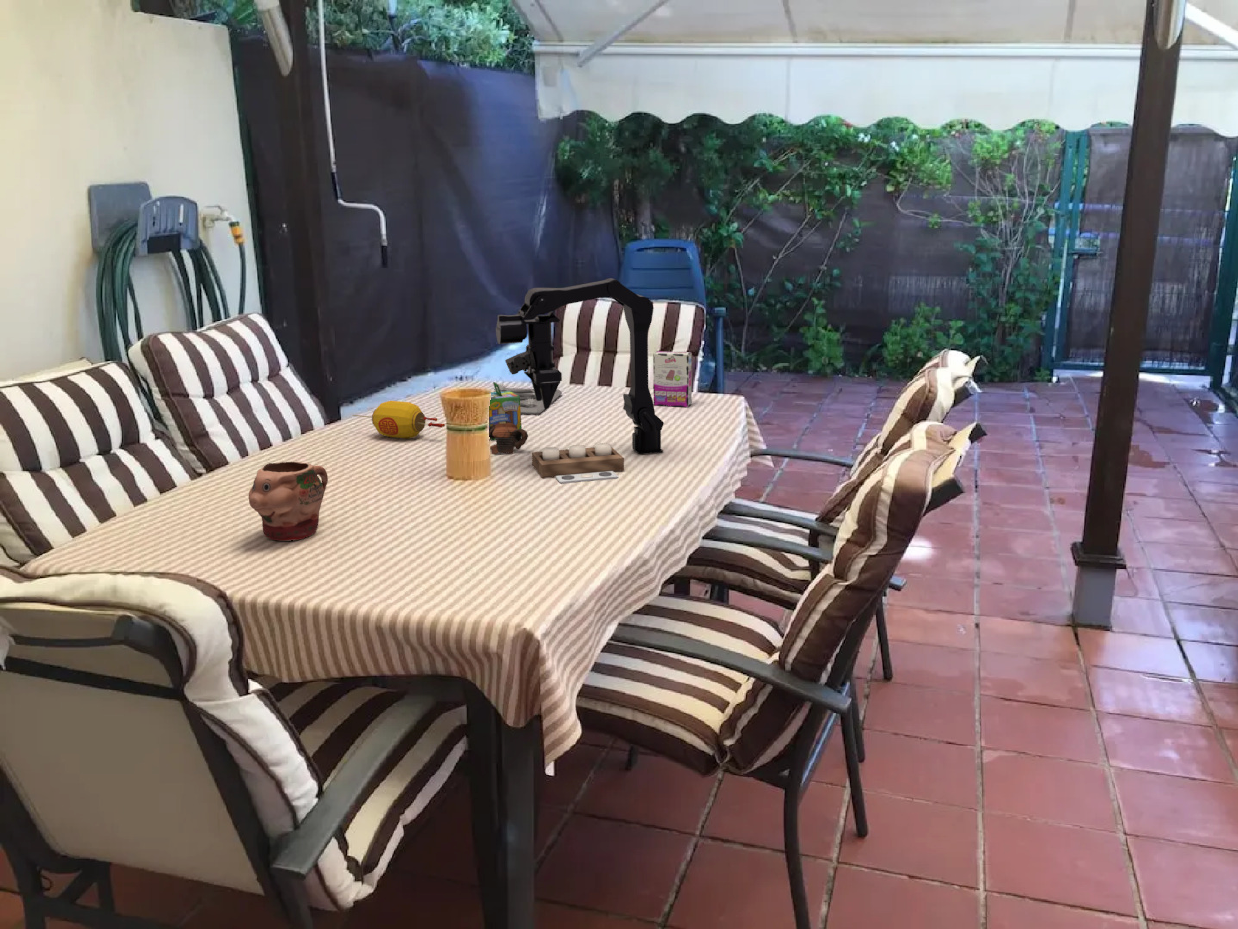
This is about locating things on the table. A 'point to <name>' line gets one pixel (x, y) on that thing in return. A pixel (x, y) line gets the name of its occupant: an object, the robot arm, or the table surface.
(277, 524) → the pink animal face cup
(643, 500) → the table surface
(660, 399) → the candy bar box
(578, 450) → the button middle
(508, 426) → the pottery mug
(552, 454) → the button
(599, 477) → the card
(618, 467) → the button board
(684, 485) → the table surface
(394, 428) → the lantern
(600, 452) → the button
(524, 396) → the decorative plate
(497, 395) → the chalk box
